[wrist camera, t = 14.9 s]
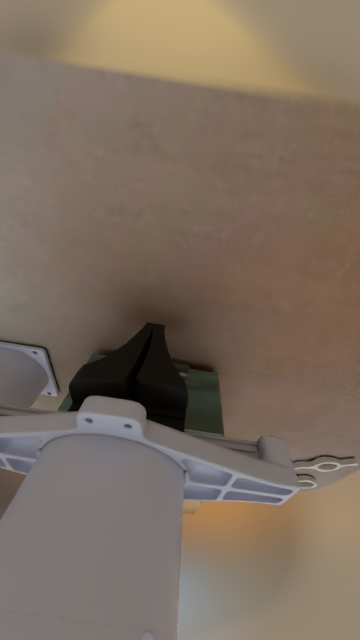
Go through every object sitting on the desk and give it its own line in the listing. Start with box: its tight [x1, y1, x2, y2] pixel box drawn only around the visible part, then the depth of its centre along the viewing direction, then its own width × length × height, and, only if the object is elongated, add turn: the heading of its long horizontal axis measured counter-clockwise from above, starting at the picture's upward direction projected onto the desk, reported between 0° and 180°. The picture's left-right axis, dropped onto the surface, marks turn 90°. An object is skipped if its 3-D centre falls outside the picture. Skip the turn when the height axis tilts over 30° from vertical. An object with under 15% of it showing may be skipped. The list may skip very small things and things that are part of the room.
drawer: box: [58, 350, 224, 437], centre depth 21 cm, size 18×13×6 cm
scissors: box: [293, 457, 358, 488], centre depth 32 cm, size 11×1×20 cm
